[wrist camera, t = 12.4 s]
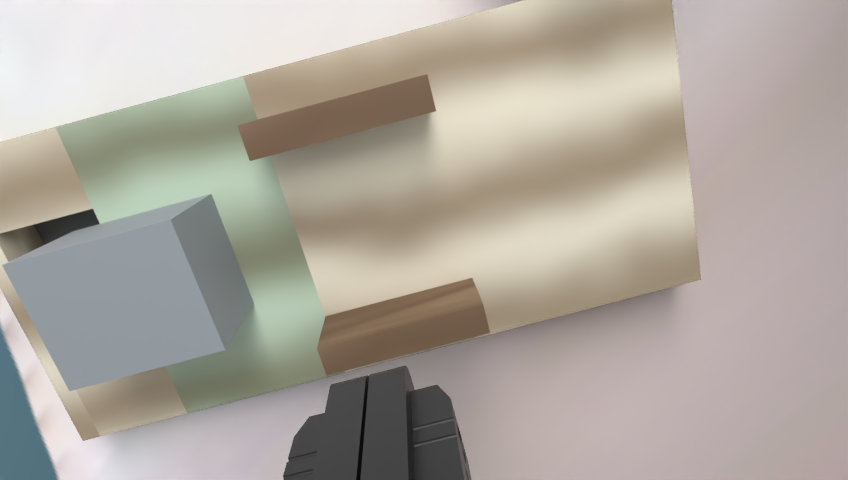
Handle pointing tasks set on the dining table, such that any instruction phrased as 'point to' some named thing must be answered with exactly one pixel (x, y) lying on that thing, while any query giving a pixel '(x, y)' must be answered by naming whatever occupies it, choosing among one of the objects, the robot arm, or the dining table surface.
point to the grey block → (134, 292)
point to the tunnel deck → (388, 194)
